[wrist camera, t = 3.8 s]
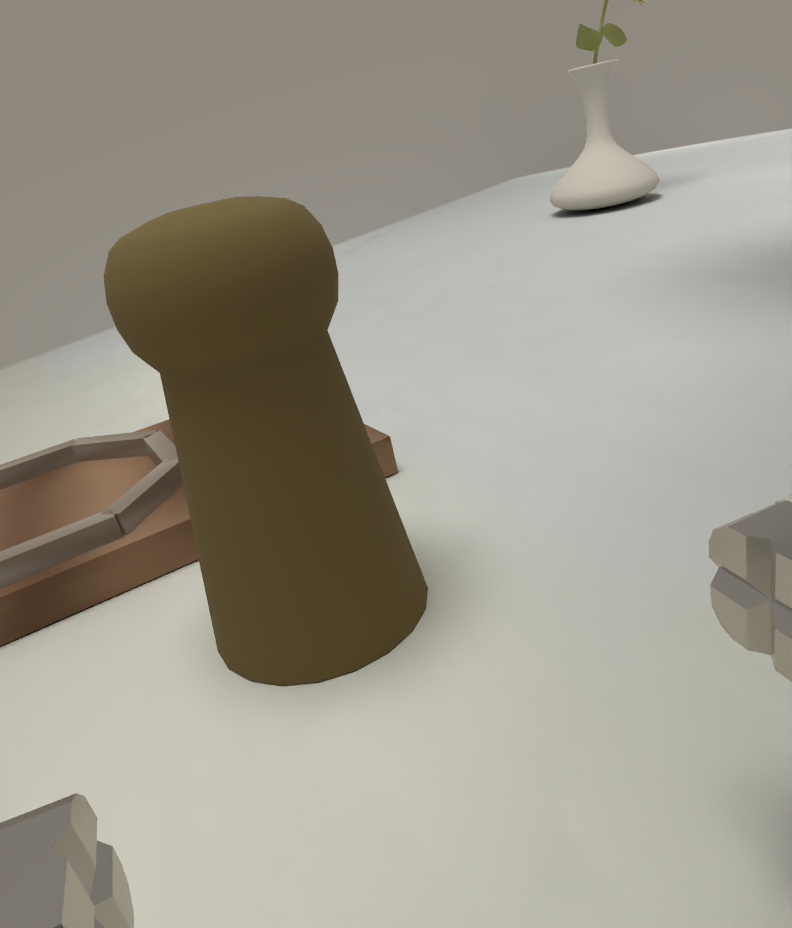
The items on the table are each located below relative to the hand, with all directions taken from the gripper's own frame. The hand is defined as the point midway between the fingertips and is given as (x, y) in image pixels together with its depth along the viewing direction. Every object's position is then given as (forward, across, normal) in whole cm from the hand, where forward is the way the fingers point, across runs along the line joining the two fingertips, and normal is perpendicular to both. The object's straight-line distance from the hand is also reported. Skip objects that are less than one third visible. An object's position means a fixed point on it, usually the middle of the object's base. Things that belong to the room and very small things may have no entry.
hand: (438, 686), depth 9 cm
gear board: (+22, +8, +5) cm, 24 cm away
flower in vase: (+65, -47, +6) cm, 80 cm away
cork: (+11, 0, +6) cm, 12 cm away
